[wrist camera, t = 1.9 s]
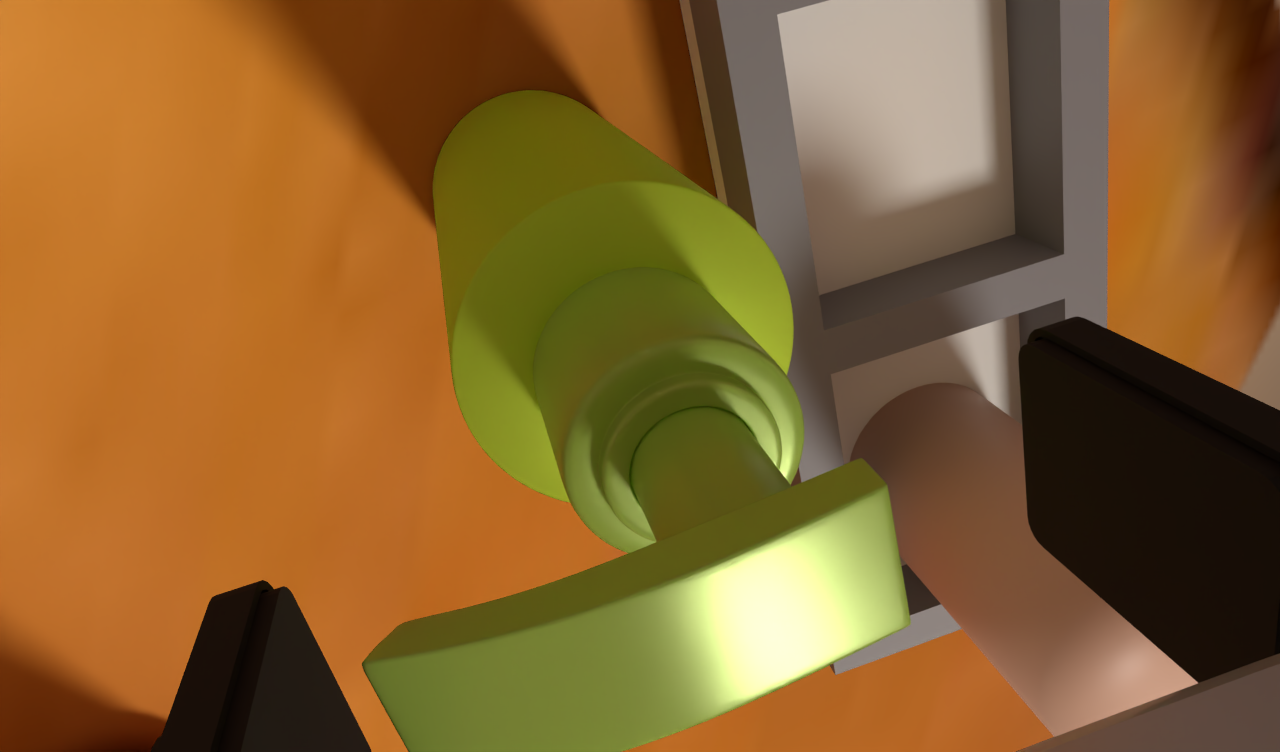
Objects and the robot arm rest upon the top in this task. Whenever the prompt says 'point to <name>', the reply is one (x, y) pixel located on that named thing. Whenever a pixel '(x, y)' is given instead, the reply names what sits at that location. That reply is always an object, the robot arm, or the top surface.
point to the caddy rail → (935, 288)
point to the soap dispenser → (630, 452)
